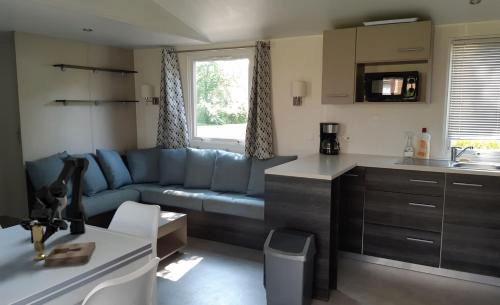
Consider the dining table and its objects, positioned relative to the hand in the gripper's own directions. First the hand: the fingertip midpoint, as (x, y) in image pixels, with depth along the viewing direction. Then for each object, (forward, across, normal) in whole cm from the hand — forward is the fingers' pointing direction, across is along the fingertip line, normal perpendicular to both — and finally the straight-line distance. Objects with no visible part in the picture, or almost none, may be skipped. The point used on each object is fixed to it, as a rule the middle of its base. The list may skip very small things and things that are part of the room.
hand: (37, 243), depth 154 cm
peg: (+4, 0, +6) cm, 7 cm away
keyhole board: (+3, +12, +7) cm, 14 cm away
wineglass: (-24, -14, +35) cm, 45 cm away
